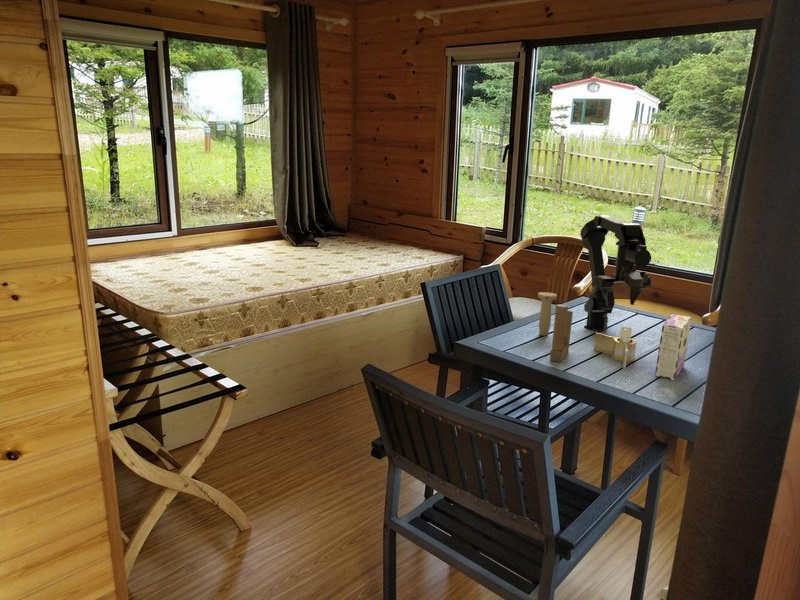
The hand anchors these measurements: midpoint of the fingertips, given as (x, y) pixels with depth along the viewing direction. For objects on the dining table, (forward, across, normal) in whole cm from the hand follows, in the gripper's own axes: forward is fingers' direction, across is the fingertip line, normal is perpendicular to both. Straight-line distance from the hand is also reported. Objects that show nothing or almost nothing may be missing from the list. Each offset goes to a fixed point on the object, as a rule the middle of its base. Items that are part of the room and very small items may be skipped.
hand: (619, 305), depth 207 cm
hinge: (+13, -11, -15) cm, 23 cm away
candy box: (+13, +1, -28) cm, 31 cm away
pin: (+13, -7, -16) cm, 22 cm away
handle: (+13, -22, +10) cm, 28 cm away
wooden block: (+13, -27, -11) cm, 32 cm away
